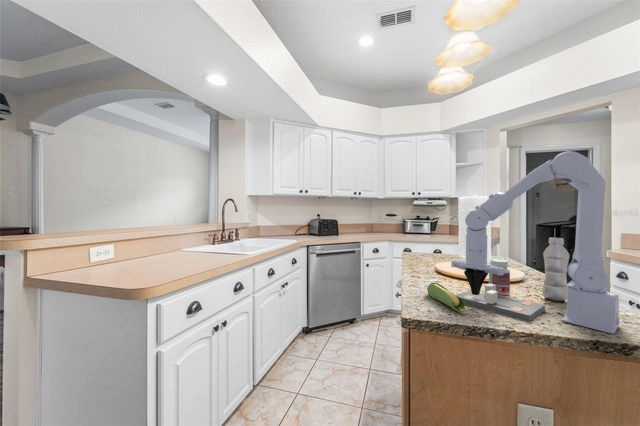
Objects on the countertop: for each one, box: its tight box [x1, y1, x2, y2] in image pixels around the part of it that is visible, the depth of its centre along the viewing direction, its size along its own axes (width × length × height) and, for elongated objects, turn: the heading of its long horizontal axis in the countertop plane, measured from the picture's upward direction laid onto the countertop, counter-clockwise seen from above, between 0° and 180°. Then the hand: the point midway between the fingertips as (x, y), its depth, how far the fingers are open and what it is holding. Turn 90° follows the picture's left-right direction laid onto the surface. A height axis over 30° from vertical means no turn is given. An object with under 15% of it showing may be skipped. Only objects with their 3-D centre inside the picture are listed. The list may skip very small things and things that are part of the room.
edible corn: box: [426, 282, 470, 316], centre depth 86 cm, size 5×20×5 cm, turn 4°
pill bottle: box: [488, 258, 511, 296], centre depth 97 cm, size 6×6×11 cm
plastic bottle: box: [541, 237, 570, 302], centre depth 90 cm, size 6×7×20 cm
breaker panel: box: [455, 289, 546, 322], centre depth 84 cm, size 20×13×2 cm, turn 37°
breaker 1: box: [484, 283, 496, 295], centre depth 89 cm, size 2×4×3 cm, turn 127°
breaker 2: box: [486, 290, 499, 304], centre depth 82 cm, size 2×4×3 cm, turn 127°
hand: (475, 294), depth 85 cm, fingers closed
